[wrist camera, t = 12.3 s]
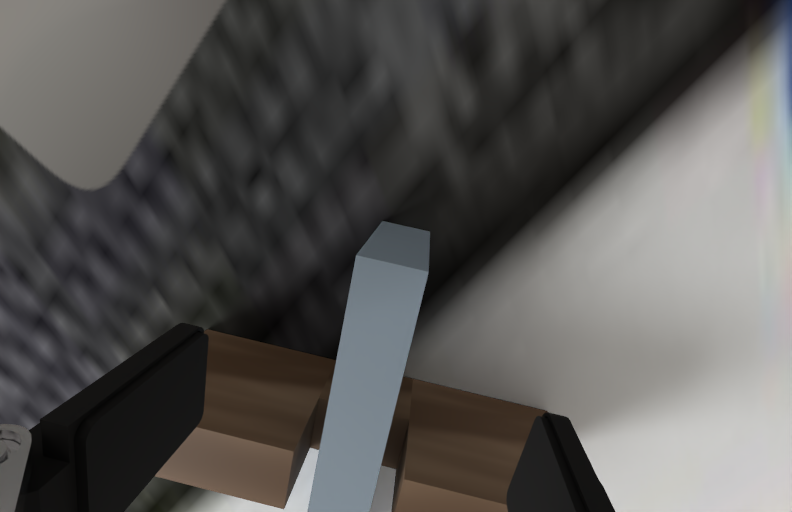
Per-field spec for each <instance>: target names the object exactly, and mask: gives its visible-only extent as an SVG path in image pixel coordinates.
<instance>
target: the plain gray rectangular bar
mask: <svg viewBox="0 0 792 512" xmlns="http://www.w3.org/2000/svg"><path fill="white" fill-rule="evenodd" d="M429 251H430V231H425V230H421V229H416V228H412V227H407V226H403V225H399V224H394V223H390V222H385V221H382V222H381V224H380V225H379V226H378V228H377V229H376V230H375V231H374V233H373V234H372V235H371V237H370V238H369V239H368V240H367V242H366V243H365V244H364V246H363V247H362V248H361V250H360V251H359V252H358V253H357V255H356V259H355V264H354V269H353V275H352V280H351V285H350V290H349V296H348V301H347V306H346V312H345V317H344V322H343V327H342V333H341V338H340V343H339V348H338V354H337V359H336V364H335V370H334V375H333V380H332V385H331V391H330V396H329V401H328V406H327V412H326V417H325V422H324V428H323V433H322V438H321V443H320V449H319V454H318V459H317V464H316V470H315V475H314V480H313V486H312V491H311V496H310V501H309V507H308V512H370V508H371V504H372V500H373V496H374V492H375V487H376V483H377V479H378V475H379V471H380V467H381V463H382V459H383V455H384V451H385V447H386V443H387V439H388V435H389V431H390V427H391V423H392V419H393V415H394V410H395V406H396V402H397V398H398V394H399V390H400V386H401V382H402V378H403V374H404V370H405V366H406V362H407V358H408V354H409V350H410V346H411V342H412V338H413V334H414V329H415V325H416V321H417V317H418V313H419V309H420V305H421V301H422V297H423V293H424V289H425V285H426V281H427V277H428V273H429Z"/></svg>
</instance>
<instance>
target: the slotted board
mask: <svg viewBox="0 0 792 512" xmlns="http://www.w3.org/2000/svg"><path fill="white" fill-rule="evenodd" d="M204 334H207V335H208V337H209V342H208V356H207V371H206V385H205V400H204V412H203V416H202V419H201V421H200V423H199V424H198V426H197V427H196V428H195V429H194V430H193V432H192V433H191V434H190V435H189V436H188V437H187V439H186V440H185V441H184V442H183V443H182V444H181V446H180V447H179V448H178V449H177V450H176V451H175V453H174V454H173V455H172V456H171V457H170V458H169V460H168V461H167V462H166V463H165V464H164V465H163V467H162V468H161V469H160V470H159V471H158V472H157V474H156V475H155V476H156V477H160V478H164V479H168V480H172V481H176V482H180V483H184V484H188V485H192V486H195V487H199V488H203V489H207V490H211V491H215V492H219V493H223V494H227V495H231V496H235V497H238V498H242V499H246V500H250V501H254V502H258V503H262V504H266V505H270V506H274V507H277V508H281V509H284V508H285V505H286V503H287V501H288V498H289V496H290V494H291V491H292V489H293V486H294V484H295V482H296V479H297V477H298V475H299V472H300V470H301V467H302V465H303V463H304V460H305V458H306V456H307V453H308V451H309V448H314V449H318V450H319V449H320V443H321V438H322V433H323V428H324V422H325V417H326V412H327V406H328V401H329V396H330V391H331V385H332V380H333V375H334V370H335V364H336V360H333V359H329V358H325V357H321V356H316V355H312V354H308V353H304V352H300V351H296V350H292V349H287V348H283V347H279V346H275V345H271V344H267V343H262V342H258V341H254V340H250V339H246V338H242V337H238V336H233V335H229V334H225V333H221V332H217V331H213V330H209V329H207V330H206V331H204ZM546 412H547V411H545V410H540V409H536V408H532V407H528V406H524V405H520V404H516V403H511V402H507V401H503V400H499V399H495V398H491V397H487V396H482V395H478V394H474V393H470V392H466V391H462V390H457V389H453V388H449V387H445V386H441V385H437V384H433V383H428V382H424V381H420V380H416V379H412V378H408V377H404V376H403V378H402V382H401V386H400V390H399V394H398V398H397V402H396V406H395V410H394V415H393V419H392V423H391V427H390V431H389V435H388V439H387V443H386V447H385V451H384V455H383V459H382V463H381V465H382V466H386V467H390V468H394V469H396V477H395V486H394V494H393V503H392V512H508V509H507V503H506V497H507V491H508V488H509V485H510V482H511V480H512V477H513V475H514V472H515V469H516V467H517V464H518V462H519V459H520V456H521V454H522V451H523V449H524V446H525V443H526V441H527V438H528V436H529V433H530V430H531V428H532V425H533V423H534V420H535V418H536V417H537V416H541V417H542V415H543V414H544V413H546Z"/></svg>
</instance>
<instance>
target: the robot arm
mask: <svg viewBox="0 0 792 512" xmlns="http://www.w3.org/2000/svg"><path fill="white" fill-rule="evenodd" d="M208 342H209V337H208V335H207V334H204V330H203V328H202V327H198V326H194V325H190V324H186V323H180V324H178V325H176V326H175V327H173V328H172V329H171V330H169V331H168V332H166V333H165V334H163V335H162V336H160V337H159V338H158V339H156V340H155V341H153V342H152V343H150V344H149V345H147V346H146V347H144V348H143V349H142V350H140V351H139V352H137V353H136V354H134V355H133V356H131V357H130V358H128V359H127V360H126V361H124V362H123V363H121V364H120V365H118V366H117V367H115V368H114V369H113V370H111V371H110V372H108V373H107V374H105V375H104V376H102V377H101V378H99V379H98V380H97V381H95V382H94V383H92V384H91V385H89V386H88V387H86V388H85V389H83V390H82V391H81V392H79V393H78V394H76V395H75V396H73V397H72V398H70V399H69V400H68V401H66V402H65V403H63V404H62V405H60V406H59V407H57V408H56V409H54V410H53V411H52V412H50V413H49V414H47V415H46V416H44V417H43V418H41V419H40V423H39V424H38V425H36V426H35V427H33V428H32V429H30V430H29V431H28V430H27V429H26V428H24V427H21V426H19V425H11V424H1V425H0V512H124V511H125V510H126V509H127V507H128V506H129V505H130V504H131V503H132V502H133V500H134V499H135V498H136V497H137V496H138V495H139V493H140V492H141V491H142V490H143V489H144V488H145V486H146V485H147V484H148V483H149V482H150V481H151V479H152V478H153V477H154V476H155V475H156V474H157V472H158V471H159V470H160V469H161V468H162V467H163V465H164V464H165V463H166V462H167V461H168V460H169V458H170V457H171V456H172V455H173V454H174V453H175V451H176V450H177V449H178V448H179V447H180V446H181V444H182V443H183V442H184V441H185V440H186V439H187V437H188V436H189V435H190V434H191V433H192V432H193V430H194V429H195V428H196V427H197V426H198V424H199V423H200V421H201V419H202V416H203V412H204V400H205V385H206V371H207V356H208ZM506 503H507V509H508V512H615V510H614V508H613V506H612V504H611V502H610V500H609V498H608V496H607V494H606V492H605V490H604V487H603V486H602V484H601V483H600V481H599V480H598V478H597V476H596V474H595V472H594V470H593V467H592V465H591V463H590V461H589V459H588V457H587V455H586V453H585V451H584V449H583V447H582V445H581V442H580V440H579V438H578V436H577V434H576V432H575V430H574V428H573V426H572V424H571V422H570V420H569V418H567V417H564V416H560V415H556V414H552V413H548V412H546V413H544V414H543V415H542V417H541V416H537V417H536V418H535V420H534V423H533V425H532V428H531V430H530V433H529V436H528V438H527V441H526V443H525V446H524V449H523V451H522V454H521V456H520V459H519V462H518V464H517V467H516V469H515V472H514V475H513V477H512V480H511V482H510V485H509V488H508V491H507V497H506Z"/></svg>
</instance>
